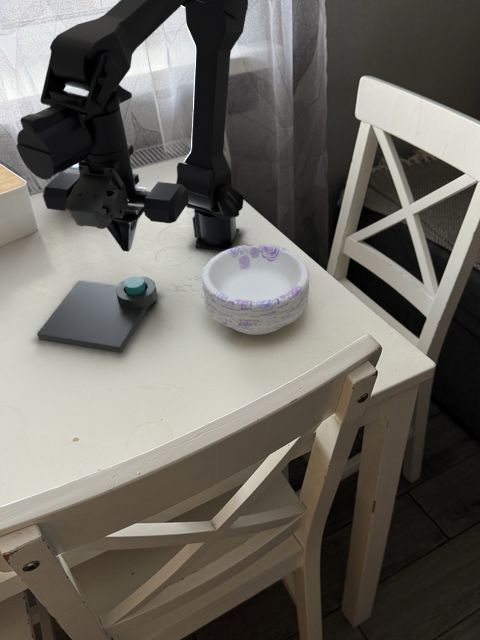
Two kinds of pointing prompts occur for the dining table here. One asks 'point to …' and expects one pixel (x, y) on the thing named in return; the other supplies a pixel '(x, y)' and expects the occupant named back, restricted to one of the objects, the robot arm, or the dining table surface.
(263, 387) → the dining table surface
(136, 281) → the tare button
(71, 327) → the scale
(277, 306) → the paper bowls
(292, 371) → the dining table surface
